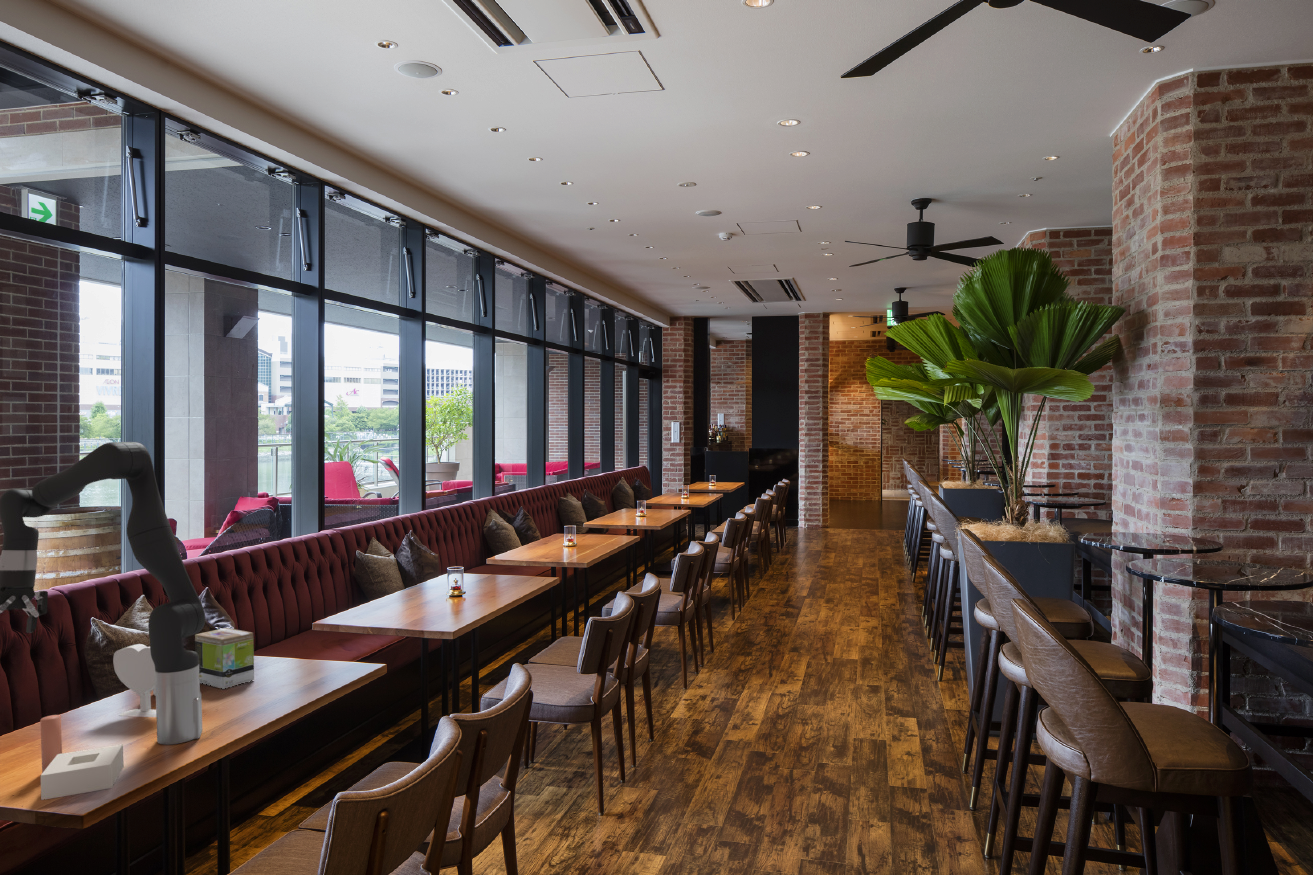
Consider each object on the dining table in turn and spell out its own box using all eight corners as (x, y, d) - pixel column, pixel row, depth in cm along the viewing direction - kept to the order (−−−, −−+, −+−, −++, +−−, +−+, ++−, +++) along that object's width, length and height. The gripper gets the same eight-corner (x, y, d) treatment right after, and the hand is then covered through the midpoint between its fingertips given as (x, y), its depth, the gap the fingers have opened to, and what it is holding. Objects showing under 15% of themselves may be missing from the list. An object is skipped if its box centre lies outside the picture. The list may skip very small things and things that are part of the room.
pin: (64, 767, 179) (62, 713, 178) (60, 773, 175) (58, 718, 175) (44, 770, 177) (43, 716, 177) (39, 776, 174) (38, 721, 174)
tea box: (255, 680, 239) (254, 631, 239) (222, 690, 231) (221, 639, 231) (227, 673, 247) (226, 626, 247) (194, 682, 239) (193, 633, 239)
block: (123, 766, 178) (122, 744, 178) (111, 787, 167) (110, 764, 167) (58, 776, 173) (57, 754, 173) (41, 799, 162) (40, 775, 162)
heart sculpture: (178, 710, 214) (176, 643, 214) (164, 717, 209) (162, 648, 209) (127, 708, 217) (125, 642, 217) (112, 715, 212) (110, 647, 212)
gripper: (-8, 569, 194) (-16, 637, 192) (57, 568, 206) (50, 632, 204) (-24, 568, 197) (-32, 636, 195) (41, 567, 210) (34, 630, 208)
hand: (10, 634), depth 200 cm, fingers open, 8 cm apart
